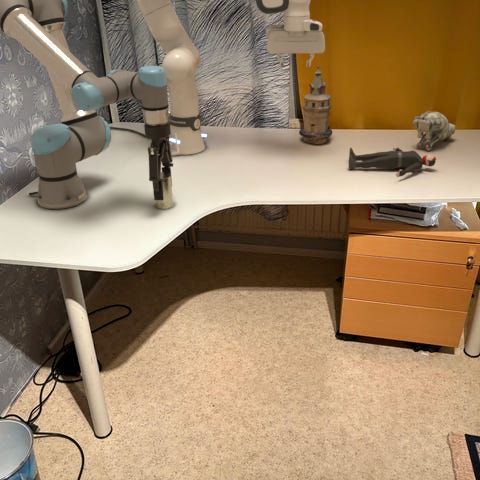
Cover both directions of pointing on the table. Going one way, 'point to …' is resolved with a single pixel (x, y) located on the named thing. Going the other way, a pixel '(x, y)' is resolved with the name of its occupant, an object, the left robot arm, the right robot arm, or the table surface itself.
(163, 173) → the canister
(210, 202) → the table surface
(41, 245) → the table surface
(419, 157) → the toy
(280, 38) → the right robot arm
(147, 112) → the left robot arm
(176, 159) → the table surface
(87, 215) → the table surface
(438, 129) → the figurine
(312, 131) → the miniature building
